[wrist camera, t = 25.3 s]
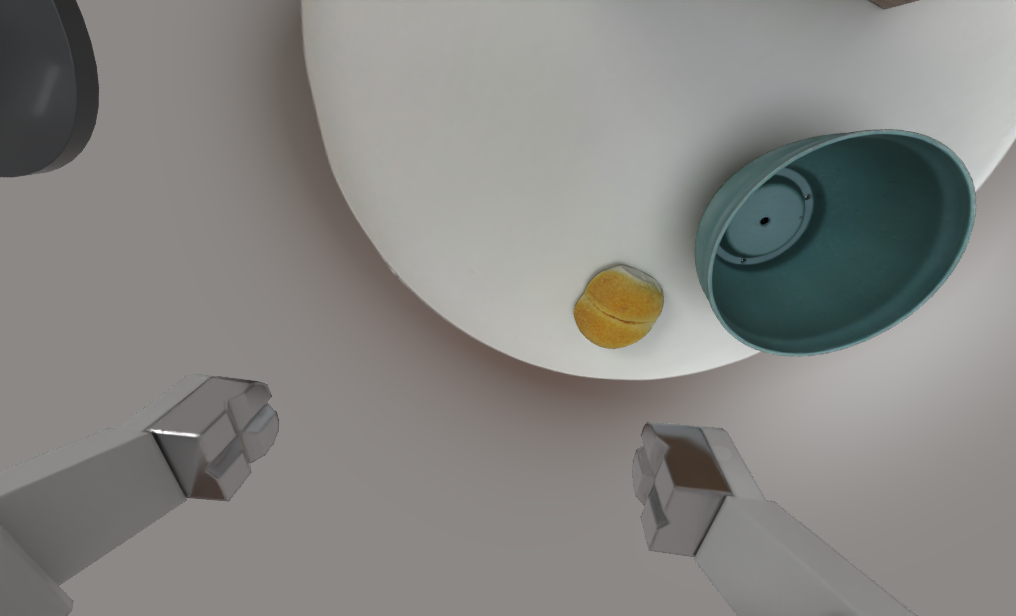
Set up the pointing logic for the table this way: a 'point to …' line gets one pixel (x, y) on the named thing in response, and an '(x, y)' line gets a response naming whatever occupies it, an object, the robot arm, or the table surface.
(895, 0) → the cupboard door
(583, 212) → the table surface
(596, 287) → the bread roll
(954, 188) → the flower pot
